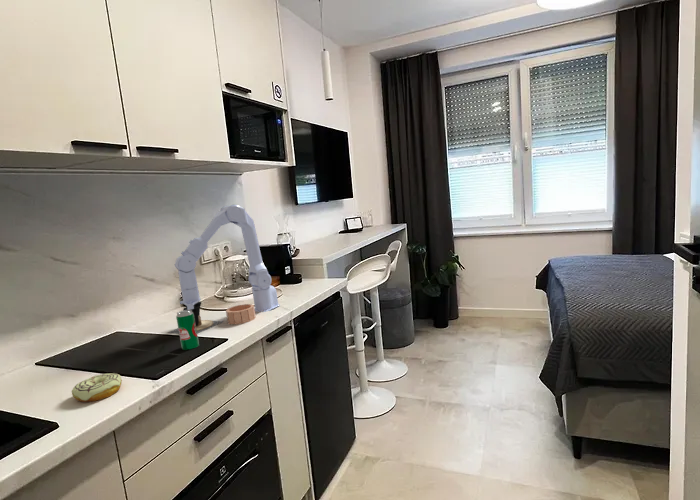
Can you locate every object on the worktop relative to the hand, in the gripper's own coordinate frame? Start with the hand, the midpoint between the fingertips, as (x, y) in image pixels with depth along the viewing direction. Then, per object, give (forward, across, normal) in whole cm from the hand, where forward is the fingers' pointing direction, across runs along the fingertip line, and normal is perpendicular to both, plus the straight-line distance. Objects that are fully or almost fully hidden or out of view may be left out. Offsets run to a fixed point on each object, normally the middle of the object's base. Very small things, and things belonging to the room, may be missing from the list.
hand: (195, 324), depth 147 cm
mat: (+2, 0, 0) cm, 2 cm away
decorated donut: (+2, +44, -20) cm, 48 cm away
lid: (+1, 0, 0) cm, 1 cm away
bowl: (+2, +2, +16) cm, 17 cm away
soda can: (+2, +23, 0) cm, 23 cm away
